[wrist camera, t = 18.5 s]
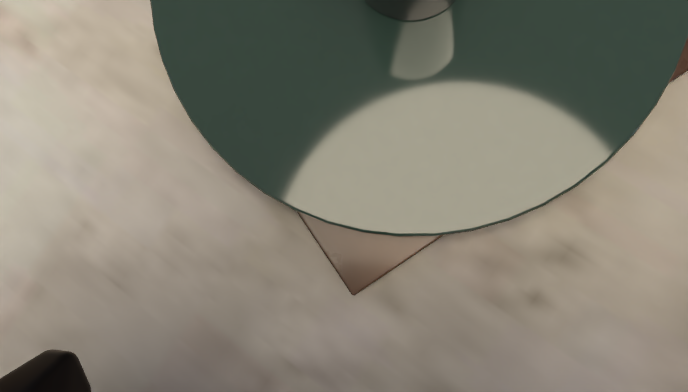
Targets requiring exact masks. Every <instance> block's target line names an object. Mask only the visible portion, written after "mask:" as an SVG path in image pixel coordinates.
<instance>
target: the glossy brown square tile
mask: <svg viewBox="0 0 688 392" xmlns="http://www.w3.org/2000/svg"><path fill="white" fill-rule="evenodd" d="M687 70H688V38H687V41H686V44H685V46H684V49H683V51H682V54H681V57H680V59H679V62H678V64H677V67H676V70H675V72H674V74H673V76H672V77H671V79H670V81H669V83H670V82H671V81H673V80H674V79H676V78H677V77H679V76H680V75H682V74H683V73H685V72H686V71H687ZM297 213H298V214H299V216H300V217H301V219H302V220H303V222H304V223H305V225H306V226H307V228H308V229H309V231H310V232H311V234H312V235H313V237H314V238H315V240H316V241H317V243H318V244H319V246H320V247H321V249H322V250H323V252H324V253H325V255H326V256H327V258H328V259H329V261H330V262H331V264H332V265H333V267H334V268H335V270H336V271H337V273H338V274H339V276H340V277H341V279H342V280H343V282H344V283H345V285H346V286H347V288H348V289H349V291H350V292H351V294H352V295H356V294H357V293H359V292H360V291H361V290H363V289H364V288H366V287H367V286H369V285H370V284H372V283H373V282H375V281H376V280H378V279H379V278H381V277H382V276H384V275H385V274H387V273H388V272H390V271H391V270H393V269H394V268H396V267H397V266H399V265H400V264H401V263H403V262H404V261H406V260H407V259H409V258H410V257H412V256H413V255H415V254H416V253H418V252H419V251H421V250H422V249H424V248H425V247H427V246H428V245H430V244H431V243H433V242H434V241H436V240H437V239H439V238H440V237H442V236H443V235H440V236H409V237H398V236H390V235H381V234H372V233H364V232H359V231H355V230H351V229H347V228H343V227H339V226H336V225H332V224H328V223H325V222H323V221H320V220H318V219H315V218H313V217H310V216H308V215H305V214H303V213H300V212H298V211H297Z"/></svg>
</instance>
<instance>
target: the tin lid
mask: <svg viewBox="0 0 688 392" xmlns="http://www.w3.org/2000/svg"><path fill="white" fill-rule="evenodd" d="M150 1H151V9H152V17H153V25H154V31H155V35H156V39H157V43H158V46H159V50H160V54H161V58H162V62H163V64H164V67H165V69H166V71H167V74H168V76H169V79H170V81H171V84H172V86H173V89H174V91H175V93H176V95H177V97H178V98H179V100H180V102H181V104H182V105H183V107H184V109H185V111H186V112H187V114H188V116H189V118H190V119H191V121H192V122H193V124H194V125H195V126H196V128H197V129H198V130H199V132H200V133H201V134H202V135H203V137H204V138H205V139H206V141H207V142H208V143H209V145H210V146H211V147H212V148H213V149H214V150H215V151H216V152H217V153H218V154H219V155H220V156H221V157H222V158H223V159H224V160H225V161H226V162H227V163H228V164H229V165H230V166H231V167H232V168H233V169H234V170H235V171H236V172H237V173H238V174H239V175H241V176H242V177H243V178H245V179H246V180H247V181H249V182H250V183H251V184H253V185H254V186H255V187H257V188H258V189H259V190H261V191H262V192H263V193H265V194H267V195H268V196H270V197H272V198H274V199H275V200H277V201H279V202H281V203H283V204H284V205H286V206H288V207H290V208H291V209H293V210H295V211H298V212H300V213H303V214H305V215H308V216H310V217H313V218H315V219H318V220H320V221H323V222H325V223H328V224H332V225H336V226H339V227H343V228H347V229H351V230H355V231H359V232H364V233H372V234H381V235H390V236H398V237H409V236H440V235H447V234H453V233H460V232H467V231H473V230H477V229H481V228H484V227H488V226H491V225H495V224H498V223H502V222H505V221H509V220H511V219H514V218H516V217H518V216H521V215H523V214H525V213H528V212H530V211H532V210H535V209H537V208H539V207H542V206H544V205H546V204H547V203H549V202H551V201H553V200H554V199H556V198H558V197H559V196H561V195H563V194H564V193H566V192H568V191H569V190H571V189H573V188H575V187H576V186H578V185H579V184H580V183H582V182H583V181H584V180H585V179H587V178H588V177H589V176H590V175H592V174H593V173H594V172H596V171H597V170H598V169H599V168H601V167H602V166H603V165H604V164H606V163H607V162H608V161H609V160H610V159H611V158H612V157H613V156H614V155H615V154H616V153H617V152H618V151H619V150H620V149H621V148H622V147H623V146H624V145H625V144H626V143H627V142H628V140H629V139H630V138H631V137H632V136H633V135H634V134H635V133H636V131H637V130H638V129H639V127H640V126H641V125H642V123H643V122H644V121H645V119H646V118H647V117H648V115H649V114H650V113H651V111H652V110H653V109H654V107H655V106H656V105H657V103H658V101H659V99H660V97H661V95H662V94H663V92H664V90H665V88H666V86H667V85H668V83H669V81H670V79H671V77H672V76H673V74H674V72H675V70H676V67H677V64H678V62H679V59H680V57H681V54H682V51H683V49H684V46H685V44H686V41H687V38H688V0H150Z"/></svg>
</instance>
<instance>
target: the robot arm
mask: <svg viewBox="0 0 688 392" xmlns="http://www.w3.org/2000/svg"><path fill="white" fill-rule="evenodd" d="M0 392H91V387H90V384H89V382H88V379H87V377H86V375H85V373H84V370H83V368H82V366H81V364H80V361H79V359H78V357H77V356H76V355H75V354H74V353H72V352H68V351H61V350H47V351H45V352H43V353H41V354H40V355H38V356H36V357H35V358H33V359H31V360H30V361H28V362H27V363H25V364H23V365H22V366H20V367H18V368H17V369H15V370H14V371H12V372H10V373H9V374H7V375H5V376H4V377H2V378H1V379H0Z"/></svg>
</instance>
